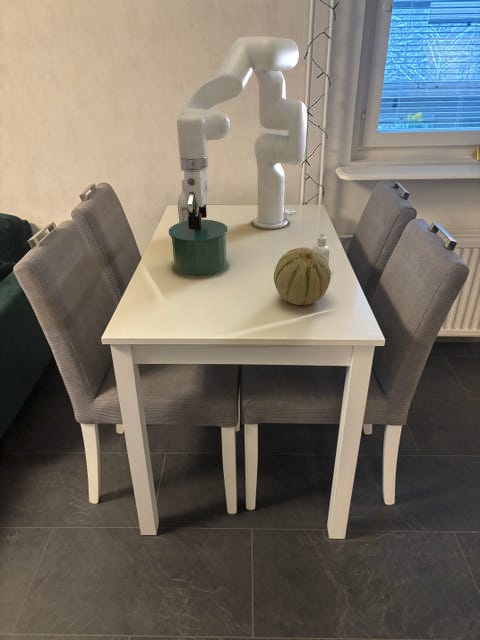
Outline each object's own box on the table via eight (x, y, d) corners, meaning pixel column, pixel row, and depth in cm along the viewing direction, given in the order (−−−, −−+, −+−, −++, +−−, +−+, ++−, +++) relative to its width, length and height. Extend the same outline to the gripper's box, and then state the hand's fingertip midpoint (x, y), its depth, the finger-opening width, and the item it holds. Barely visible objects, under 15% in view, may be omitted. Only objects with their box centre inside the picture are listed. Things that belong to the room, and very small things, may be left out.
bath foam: (204, 236, 174) (200, 179, 164) (187, 241, 170) (183, 183, 160) (192, 231, 178) (188, 175, 168) (176, 236, 175) (171, 178, 164)
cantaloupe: (298, 283, 141) (300, 233, 133) (340, 301, 131) (345, 248, 124) (261, 301, 132) (261, 248, 124) (303, 321, 123) (306, 265, 115)
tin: (215, 253, 160) (214, 219, 155) (234, 272, 148) (233, 235, 142) (169, 262, 155) (165, 226, 150) (183, 282, 143) (180, 244, 137)
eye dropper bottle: (325, 267, 150) (328, 229, 144) (328, 275, 145) (331, 236, 139) (311, 267, 150) (313, 229, 144) (313, 275, 145) (315, 236, 139)
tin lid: (215, 220, 156) (214, 201, 153) (236, 238, 142) (236, 217, 139) (162, 228, 150) (160, 208, 147) (178, 248, 137) (176, 227, 133)
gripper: (201, 171, 128) (205, 234, 137) (213, 156, 143) (215, 213, 152) (172, 170, 129) (178, 233, 138) (187, 155, 144) (191, 213, 153)
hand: (198, 223), depth 145 cm, fingers open, 9 cm apart
